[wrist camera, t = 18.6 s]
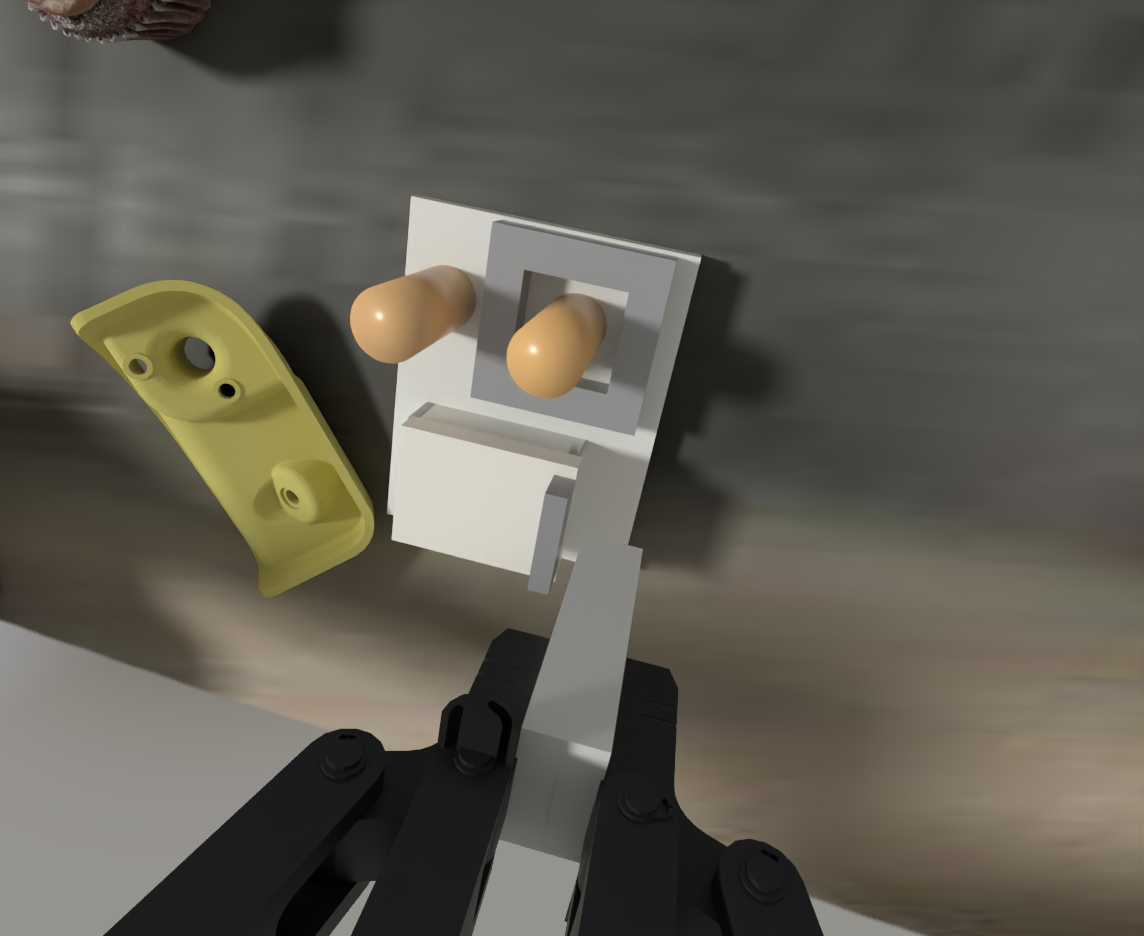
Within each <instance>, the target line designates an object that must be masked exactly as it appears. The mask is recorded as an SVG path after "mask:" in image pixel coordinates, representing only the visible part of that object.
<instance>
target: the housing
mask: <svg viewBox="0 0 1144 936" xmlns="http://www.w3.org/2000/svg"><path fill="white" fill-rule="evenodd" d="M700 261H701V255H700V254H695V253H691V252H686V251H681V250H676V249H672V248H667V247H662V246H658V245H653V244H648V243H643V242H639V241H634V240H629V239H625V238H620V237H615V236H610V235H606V234H601V233H596V232H592V231H587V230H582V229H577V228H573V227H568V226H563V225H559V224H554V223H549V222H545V221H540V220H535V219H530V218H526V217H521V216H516V215H512V214H507V213H502V212H497V211H493V210H488V209H483V208H479V207H474V206H469V205H464V204H460V203H455V202H450V201H446V200H441V199H436V198H431V197H427V196H422V195H420V196H411V206H410V219H409V232H408V245H407V258H406V271H405V276H404V277H401V278H398V279H395V280H392V281H389V282H386V283H383V284H380V285H377V286H374V287H371V288H368V289H366V290H365V291H363V292H362V293H361V294H360V295H359V296H358V297H357V298H356V300H355V302H354V304H353V306H352V309H351V315H350V323H351V329H352V332H353V335H354V337H355V339H356V341H357V343H358V344H359V346H360V347H361V348H362V349H363V350H364V351H365V352H366V353H367V354H368V355H369V356H371V357H372V358H374V359H376V360H378V361H381V362H384V363H398V376H397V389H396V402H395V415H394V428H393V441H392V454H391V467H390V480H389V493H388V506H387V514H390V515H394V504H395V492H396V479H397V467H398V455H399V443H400V430H401V425H402V424H403V423H404V422H406V421H407V420H408V419H409V418H410V417H412V416H414V417H419V418H423V419H427V420H431V421H435V422H439V423H443V424H448V425H452V426H456V427H460V428H464V429H468V430H472V431H477V432H481V433H485V434H489V435H493V436H497V437H501V438H506V439H510V440H514V441H518V442H522V443H526V444H531V445H535V446H539V447H543V448H547V449H551V450H555V451H560V452H564V453H568V454H572V455H576V456H580V457H583V458H582V463H581V468H580V473H579V478H578V482H577V487H576V492H575V497H574V502H573V506H572V511H571V516H570V521H569V526H568V530H567V535H566V540H565V545H564V549H563V554H562V558H563V559H567V560H571V561H575V562H576V559H577V555H578V552H579V549H580V546H581V543H582V540H583V537H584V534H586V535H590V536H594V537H598V538H602V539H606V540H610V541H614V542H618V543H622V544H625V545H628V543H629V539H630V535H631V531H632V527H633V523H634V519H635V516H636V512H637V508H638V504H639V500H640V496H641V492H642V488H643V484H644V480H645V476H646V472H647V468H648V465H649V461H650V457H651V453H652V449H653V445H654V441H655V437H656V433H657V429H658V425H659V421H660V418H661V414H662V410H663V406H664V402H665V398H666V394H667V390H668V386H669V382H670V378H671V374H672V371H673V367H674V363H675V359H676V355H677V351H678V347H679V343H680V339H681V335H682V331H683V327H684V324H685V320H686V316H687V312H688V308H689V304H690V300H691V296H692V292H693V288H694V284H695V280H696V277H697V273H698V269H699V265H700ZM568 293H580V294H584V295H586V296H588V297H590V298H592V299H593V300H595V301H596V302H597V303H598V304H599V306H600V307H601V309H602V310H603V312H604V315H605V318H606V325H607V328H606V334H605V337H604V340H603V342H602V343H601V345H600V347H599V348H598V350H597V352H596V354H595V355H594V357H593V359H592V360H591V362H590V364H589V365H588V367H587V369H586V370H585V372H584V374H583V375H582V377H581V379H580V380H579V382H578V383H577V385H576V386H575V387H574V388H573V389H572V390H571V391H570V392H568V393H567V394H565V395H563V396H560V397H557V398H551V399H544V398H538V397H535V396H532V395H530V394H528V393H526V392H525V391H524V390H522V389H521V388H520V387H519V386H518V385H517V384H516V383H515V381H514V380H513V378H512V377H511V375H510V372H509V370H508V366H507V349H508V346H509V343H510V341H511V339H512V337H513V336H514V334H515V333H516V332H517V331H518V330H519V329H520V328H522V327H523V326H524V325H525V324H526V323H528V322H529V321H530V320H531V319H532V318H534V317H535V316H536V315H537V314H538V313H540V312H541V311H542V310H543V309H544V308H546V307H547V306H548V305H549V304H550V303H551V302H553V301H554V300H555V299H556V298H558V297H560V296H562V295H564V294H568Z"/></svg>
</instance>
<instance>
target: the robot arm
mask: <svg viewBox="0 0 1144 936" xmlns="http://www.w3.org/2000/svg"><path fill="white" fill-rule="evenodd" d="M642 552H643V549H641V548H637V547H633V546H629V545H625V544H622V543H618V542H614V541H610V540H606V539H602V538H598V537H594V536H590V535H586V534H584V537H583V540H582V543H581V546H580V549H579V552H578V555H577V559H576V562H575V565H574V568H573V571H572V574H571V577H570V580H569V583H568V586H567V589H566V592H565V595H564V599H563V602H562V605H561V608H560V611H559V614H558V617H557V620H556V623H555V626H554V629H553V632H552V635H551V639H548V638H544V637H540V636H536V635H533V634H529V633H525V632H521V631H517V630H514V629H510V628H508V629H507V630H505V631H504V632H503V633H501V634H500V635H499V636H498V637H496V638H495V639H494V640H493V641H492V643H491V645H490V647H489V649H488V652H487V654H486V656H485V659H484V661H483V663H482V665H481V667H480V669H479V672H478V675H477V676H476V678H475V681H474V683H473V685H472V687H471V689H470V692H469V694H464V695H461V696H459V697H457V698H455V699H454V700H452V701H450V702H449V703H448V705H447V706H446V707H445V708H444V710H443V711H442V714H441V722H440V729H439V737H438V743H436V744H434V745H432V746H430V747H427V748H423V749H420V750H411V751H385V750H384V748H383V745H382V743H381V741H379V740H378V739H377V738H376V737H375V736H373V735H372V734H371V733H368V732H365V731H362V730H359V729H339V730H335V731H332V732H329V733H325V734H324V735H322V736H321V737H319V738H318V739H316V740H315V741H313V742H312V743H311V744H310V745H309V746H307V747H306V748H305V749H304V750H303V751H302V752H301V753H300V754H299V755H298V756H297V757H295V758H294V759H293V760H292V761H291V762H290V763H289V764H288V765H287V766H286V767H285V768H284V769H283V770H281V771H280V772H279V773H278V774H277V775H276V776H275V777H274V778H273V779H272V780H271V781H270V782H268V783H267V784H266V785H265V786H264V787H263V788H262V789H261V790H260V791H259V792H258V793H257V794H256V795H254V796H253V797H252V798H251V799H250V800H249V801H248V802H247V803H246V804H245V805H244V806H243V807H242V808H241V809H239V810H238V811H237V812H236V813H235V814H234V815H233V816H232V817H231V818H230V819H229V820H227V821H226V822H225V823H224V824H223V825H222V826H221V827H220V828H219V829H218V830H217V831H216V832H214V833H213V834H212V835H211V836H210V837H209V838H208V839H207V840H206V841H205V842H204V843H203V844H201V845H200V846H199V847H198V848H197V849H196V850H195V851H194V852H193V853H192V854H191V855H190V856H189V857H188V858H186V860H184V861H183V862H182V863H181V864H180V865H179V866H178V867H177V868H176V869H175V870H173V871H172V872H171V873H170V874H169V875H168V876H167V877H166V878H165V879H164V880H163V881H162V882H161V883H159V884H158V885H157V886H156V887H155V888H154V889H153V890H152V891H151V892H150V893H149V894H148V895H146V896H145V897H144V898H143V899H142V900H141V901H140V902H139V903H138V904H137V905H136V906H135V907H134V908H132V909H131V910H130V911H129V912H128V913H127V914H126V915H125V916H124V917H123V918H122V919H121V920H119V921H118V922H117V923H116V924H115V925H114V926H113V927H112V928H111V929H110V930H109V931H108V932H107V933H105V934H104V935H103V936H329V935H330V934H331V933H332V931H333V930H334V929H335V927H336V926H337V925H338V923H339V922H340V921H341V919H342V918H343V917H344V916H345V914H346V913H347V912H348V910H349V909H350V907H351V906H352V905H353V904H354V903H355V901H356V900H357V899H358V897H359V896H360V895H361V893H362V892H363V891H364V889H365V888H366V887H367V885H368V884H369V882H370V881H376V882H375V885H374V886H373V889H372V891H371V893H370V895H369V897H368V899H367V902H366V904H365V906H364V908H363V910H362V913H361V915H360V917H359V919H358V921H357V924H356V926H355V928H354V930H353V932H352V935H351V936H472V933H473V930H474V926H475V923H476V920H477V917H478V913H479V910H480V906H481V903H482V900H483V897H484V893H485V890H486V886H487V883H488V880H489V876H490V873H491V870H492V864H493V860H494V855H495V850H496V847H497V844H498V841H499V839H500V840H503V841H507V842H510V843H513V844H517V845H521V846H524V847H527V848H531V849H534V850H537V851H541V852H544V853H548V854H551V855H554V856H558V857H561V858H565V859H568V860H572V861H575V862H579V863H580V866H579V872H578V876H577V880H576V884H575V887H574V890H573V894H572V897H571V901H570V904H569V907H568V911H567V914H566V918H565V921H566V922H567V927H566V932H565V936H823V933H822V930H821V927H820V925H819V922H818V920H817V917H816V914H815V911H814V909H813V906H812V904H811V901H810V898H809V895H808V893H807V890H806V887H805V885H804V882H803V880H802V878H801V876H800V875H799V873H798V871H797V869H796V867H795V866H794V865H793V864H792V862H791V861H790V860H789V859H788V858H787V857H786V856H785V855H784V854H783V853H782V852H780V851H779V850H777V849H775V848H774V847H772V846H770V845H769V844H767V843H765V842H761V841H757V840H753V839H745V840H738V841H735V842H733V843H732V844H731V845H729V846H728V847H727V846H725V845H723V844H722V843H720V842H719V841H717V840H715V839H714V838H712V837H710V836H709V835H707V834H705V833H704V832H703V831H701V830H700V829H699V828H697V827H696V826H695V825H694V824H693V823H692V822H691V821H690V820H689V819H688V818H687V817H686V816H685V814H684V813H683V811H682V810H681V808H680V806H679V804H678V802H677V799H676V796H675V790H674V773H675V750H676V724H677V703H678V687H677V685H676V683H675V681H674V678H673V676H672V674H671V672H670V670H669V669H667V668H663V667H659V666H656V665H652V664H648V663H644V662H640V661H637V660H633V659H629V658H626V655H627V649H628V642H629V636H630V629H631V623H632V616H633V610H634V603H635V597H636V590H637V584H638V577H639V571H640V565H641V558H642Z"/></svg>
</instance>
